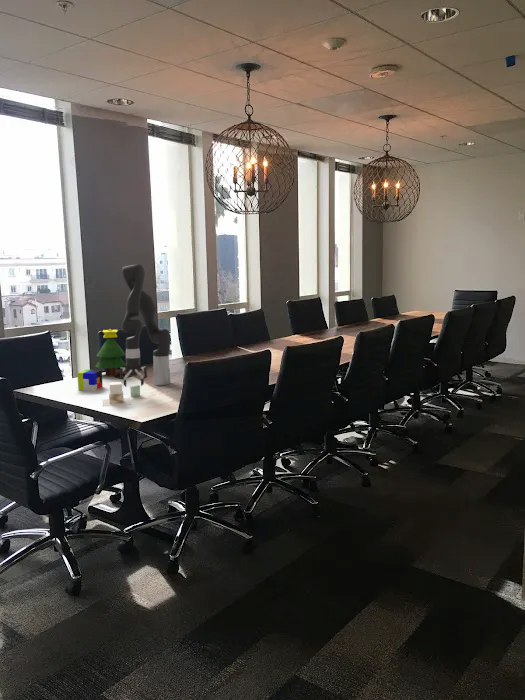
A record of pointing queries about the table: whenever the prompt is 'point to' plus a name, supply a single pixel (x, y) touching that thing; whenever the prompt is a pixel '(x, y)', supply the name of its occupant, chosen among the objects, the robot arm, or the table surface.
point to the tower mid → (115, 388)
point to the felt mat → (107, 403)
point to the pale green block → (135, 390)
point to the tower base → (116, 398)
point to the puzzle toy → (90, 380)
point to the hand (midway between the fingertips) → (133, 385)
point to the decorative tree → (110, 354)
